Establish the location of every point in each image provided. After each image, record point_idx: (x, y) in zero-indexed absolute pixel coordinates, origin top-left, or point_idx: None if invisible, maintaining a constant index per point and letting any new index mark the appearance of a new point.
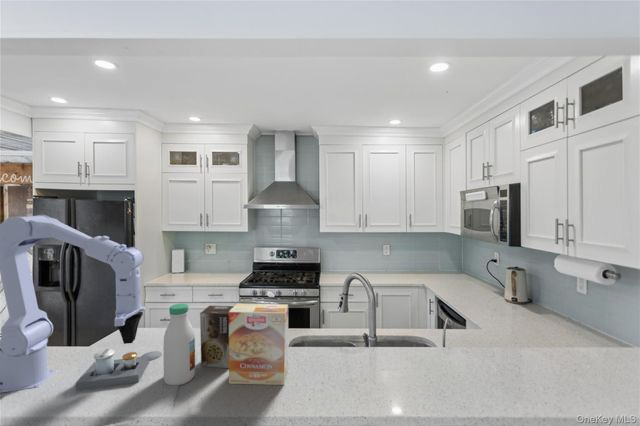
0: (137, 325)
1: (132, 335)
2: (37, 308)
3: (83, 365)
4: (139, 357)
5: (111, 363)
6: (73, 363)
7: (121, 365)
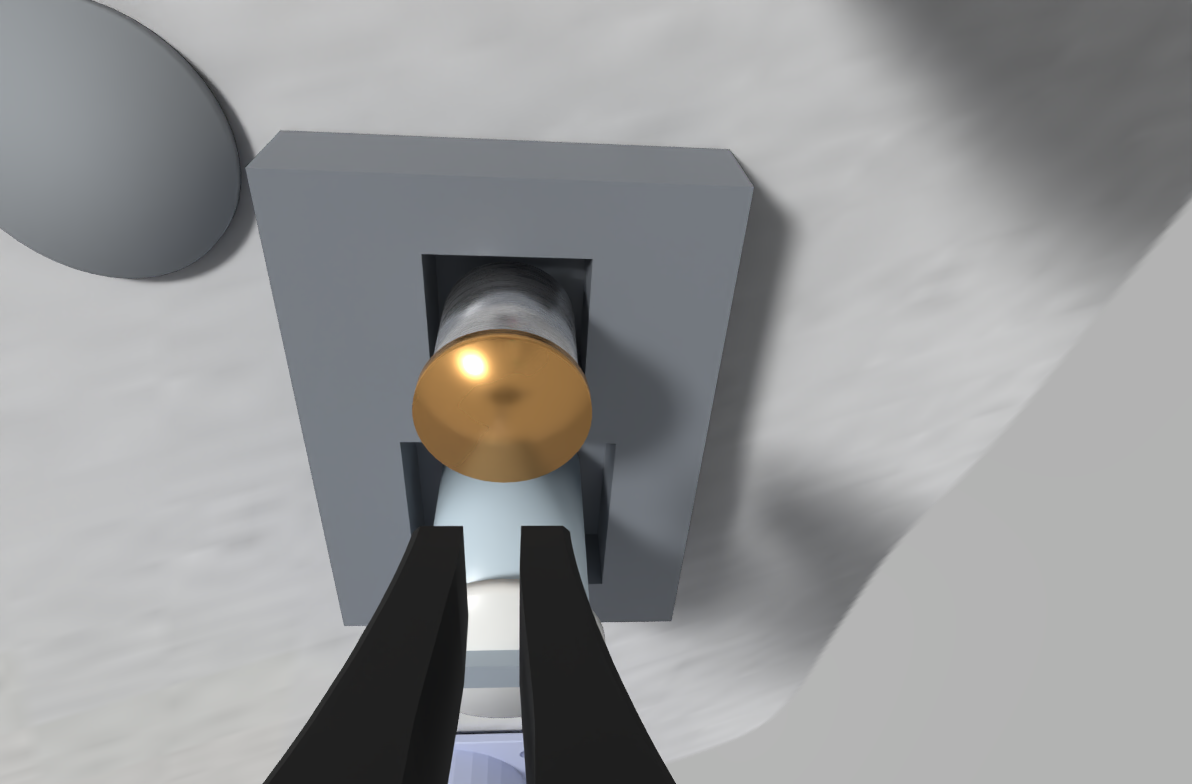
0: (357, 781)
1: (603, 650)
2: None
3: (263, 644)
4: (285, 282)
5: (540, 519)
6: (227, 699)
7: None
